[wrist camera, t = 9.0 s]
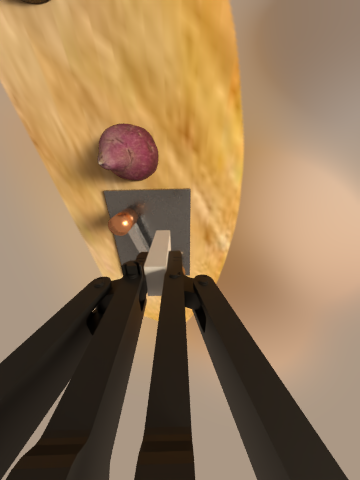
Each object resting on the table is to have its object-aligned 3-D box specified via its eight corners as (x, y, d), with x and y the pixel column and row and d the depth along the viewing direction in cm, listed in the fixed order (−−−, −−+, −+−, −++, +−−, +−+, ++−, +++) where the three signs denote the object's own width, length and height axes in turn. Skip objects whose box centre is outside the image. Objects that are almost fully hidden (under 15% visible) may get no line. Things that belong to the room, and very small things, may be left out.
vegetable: (143, 186, 36) (122, 217, 25) (105, 154, 32) (59, 174, 21) (169, 151, 31) (157, 171, 20) (128, 107, 27) (82, 100, 15)
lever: (170, 274, 41) (169, 292, 35) (154, 279, 42) (149, 298, 36) (135, 204, 33) (125, 212, 26) (115, 212, 33) (101, 221, 27)
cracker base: (106, 190, 34) (88, 194, 27) (190, 188, 34) (193, 192, 27) (125, 274, 44) (116, 292, 38) (189, 272, 44) (191, 290, 38)
